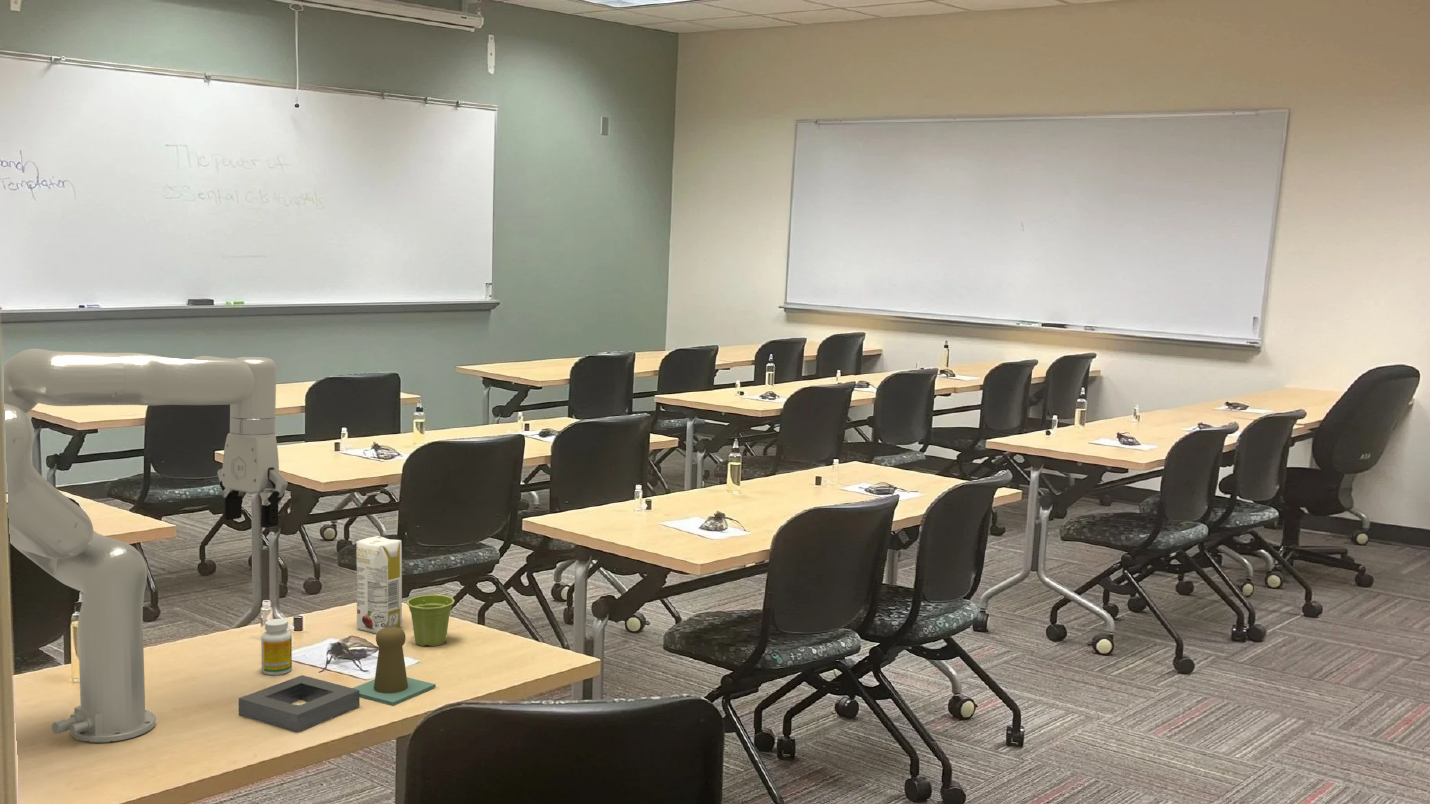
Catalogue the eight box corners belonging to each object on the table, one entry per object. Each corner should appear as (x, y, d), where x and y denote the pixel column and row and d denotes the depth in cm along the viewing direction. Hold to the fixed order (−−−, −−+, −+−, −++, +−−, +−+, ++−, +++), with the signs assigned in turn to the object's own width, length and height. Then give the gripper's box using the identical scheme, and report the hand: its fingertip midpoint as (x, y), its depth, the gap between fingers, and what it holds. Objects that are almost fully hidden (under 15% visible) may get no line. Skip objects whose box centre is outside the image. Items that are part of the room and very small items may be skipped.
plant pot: (463, 642, 254) (463, 601, 253) (425, 652, 247) (425, 610, 246) (435, 632, 260) (435, 592, 259) (397, 642, 253) (397, 600, 252)
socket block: (297, 732, 205) (297, 714, 205) (238, 715, 212) (238, 698, 212) (359, 706, 217) (359, 690, 217) (302, 691, 224) (301, 674, 224)
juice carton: (380, 636, 256) (380, 546, 254) (351, 629, 261) (350, 540, 258) (407, 627, 263) (407, 539, 261) (377, 620, 267) (377, 534, 265)
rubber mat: (393, 705, 218) (393, 702, 218) (347, 693, 224) (347, 690, 224) (435, 687, 228) (435, 684, 228) (390, 676, 233) (390, 672, 233)
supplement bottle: (257, 669, 235) (256, 620, 233) (285, 664, 238) (285, 615, 237) (267, 677, 230) (267, 627, 229) (296, 672, 234) (295, 622, 233)
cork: (414, 687, 226) (414, 628, 224) (386, 695, 221) (385, 635, 220) (395, 679, 230) (395, 621, 228) (366, 687, 225) (366, 628, 224)
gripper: (202, 423, 220) (201, 518, 222) (268, 433, 212) (266, 532, 213) (238, 420, 227) (237, 513, 228) (303, 430, 218) (301, 526, 220)
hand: (251, 522), depth 221 cm, fingers open, 9 cm apart
